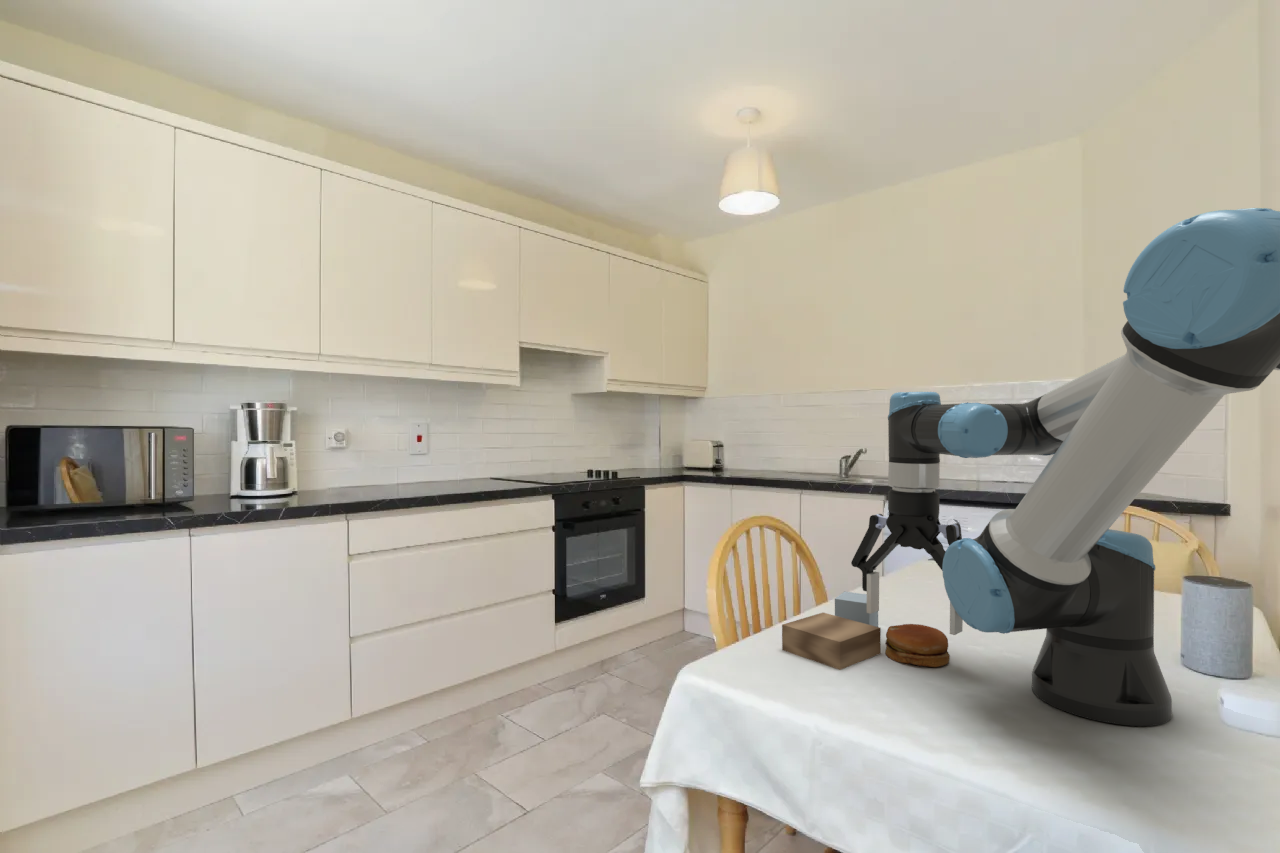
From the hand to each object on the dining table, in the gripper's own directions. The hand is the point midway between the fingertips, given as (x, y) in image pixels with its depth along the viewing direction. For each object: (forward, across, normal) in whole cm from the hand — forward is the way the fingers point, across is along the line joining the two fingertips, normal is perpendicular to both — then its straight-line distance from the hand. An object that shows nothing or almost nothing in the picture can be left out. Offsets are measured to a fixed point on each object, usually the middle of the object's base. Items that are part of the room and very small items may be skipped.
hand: (912, 621), depth 103 cm
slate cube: (+6, +12, -5) cm, 15 cm away
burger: (+6, -1, 0) cm, 6 cm away
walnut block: (+6, +10, +8) cm, 14 cm away
